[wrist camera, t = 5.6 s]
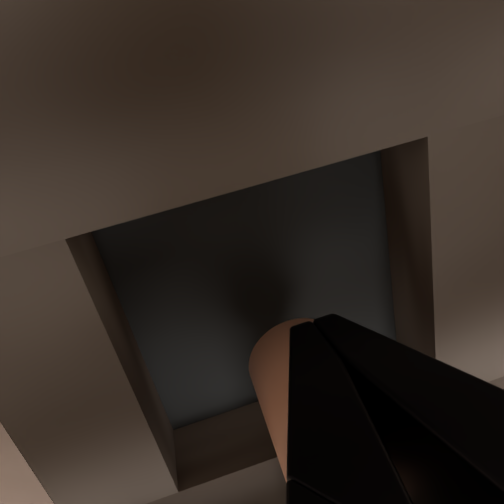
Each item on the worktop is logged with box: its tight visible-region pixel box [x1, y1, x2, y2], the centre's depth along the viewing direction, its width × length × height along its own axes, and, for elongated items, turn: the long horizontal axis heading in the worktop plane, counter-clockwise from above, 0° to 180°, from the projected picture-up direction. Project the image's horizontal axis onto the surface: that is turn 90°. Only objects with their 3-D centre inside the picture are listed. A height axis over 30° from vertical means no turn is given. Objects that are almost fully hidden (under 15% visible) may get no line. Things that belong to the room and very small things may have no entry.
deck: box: [0, 0, 504, 504], centre depth 16 cm, size 38×14×2 cm, turn 13°
